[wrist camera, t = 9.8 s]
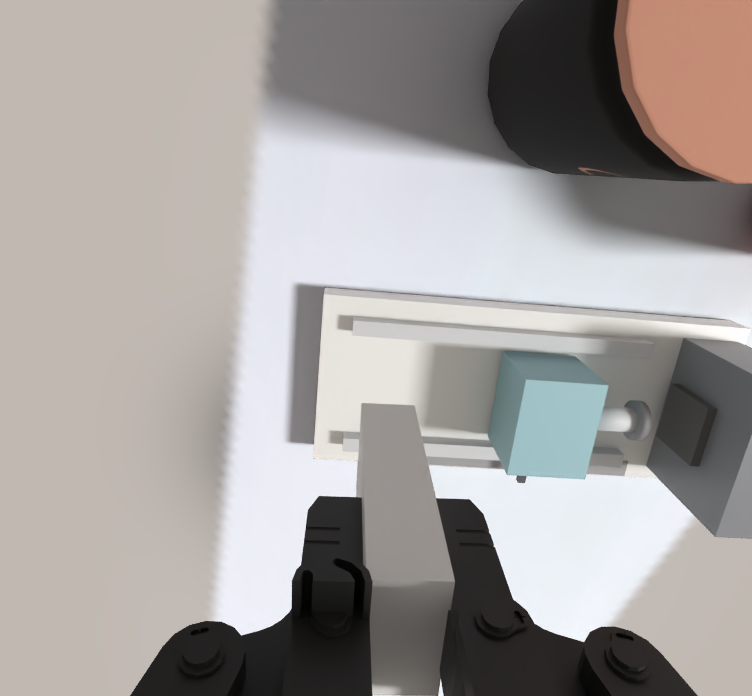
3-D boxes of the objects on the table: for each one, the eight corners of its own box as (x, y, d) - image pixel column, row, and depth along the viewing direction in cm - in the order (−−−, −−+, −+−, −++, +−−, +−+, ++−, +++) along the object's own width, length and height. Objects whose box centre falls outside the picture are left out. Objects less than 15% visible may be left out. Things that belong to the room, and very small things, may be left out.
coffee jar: (521, 203, 35) (680, 243, 18) (454, 37, 32) (574, -102, 15) (676, 123, 34) (1000, 87, 17) (623, -57, 31) (962, -325, 14)
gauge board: (325, 287, 36) (316, 331, 27) (730, 320, 39) (854, 372, 29) (314, 444, 40) (304, 531, 31) (684, 466, 43) (779, 553, 33)
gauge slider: (502, 350, 36) (526, 379, 31) (631, 360, 37) (673, 389, 32) (481, 469, 39) (499, 511, 34) (601, 476, 40) (635, 518, 35)
